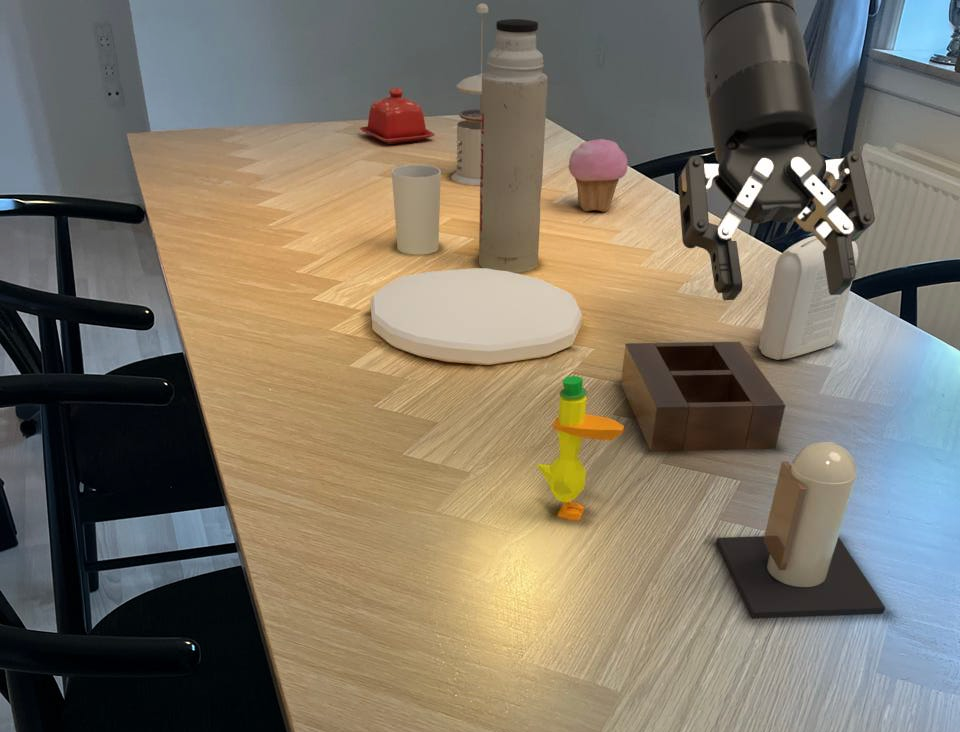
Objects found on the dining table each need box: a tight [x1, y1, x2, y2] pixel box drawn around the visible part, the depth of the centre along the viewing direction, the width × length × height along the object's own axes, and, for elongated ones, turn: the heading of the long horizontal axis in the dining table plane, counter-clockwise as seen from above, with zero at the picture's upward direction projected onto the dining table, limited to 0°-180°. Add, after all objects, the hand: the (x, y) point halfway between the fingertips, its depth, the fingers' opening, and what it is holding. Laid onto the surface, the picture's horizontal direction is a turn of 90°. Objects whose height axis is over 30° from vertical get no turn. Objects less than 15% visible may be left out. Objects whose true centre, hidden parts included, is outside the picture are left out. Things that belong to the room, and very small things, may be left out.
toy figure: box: [536, 375, 625, 521], centre depth 79 cm, size 7×4×12 cm, turn 76°
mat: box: [715, 535, 886, 619], centre depth 76 cm, size 10×10×1 cm
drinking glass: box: [391, 164, 442, 255], centre depth 133 cm, size 7×7×10 cm
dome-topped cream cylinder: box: [763, 441, 858, 587], centre depth 72 cm, size 5×4×11 cm
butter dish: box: [359, 87, 436, 145], centre depth 185 cm, size 12×12×8 cm
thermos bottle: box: [478, 18, 549, 274], centre depth 123 cm, size 8×8×28 cm
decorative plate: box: [370, 267, 583, 366], centre depth 114 cm, size 25×4×25 cm
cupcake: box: [568, 138, 628, 213], centre depth 149 cm, size 9×9×10 cm
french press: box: [450, 3, 489, 186], centre depth 159 cm, size 10×12×25 cm
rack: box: [620, 341, 786, 453], centre depth 96 cm, size 12×15×4 cm
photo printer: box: [758, 235, 859, 361], centre depth 107 cm, size 10×4×12 cm, turn 125°
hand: (787, 293), depth 73 cm, fingers open, 8 cm apart
